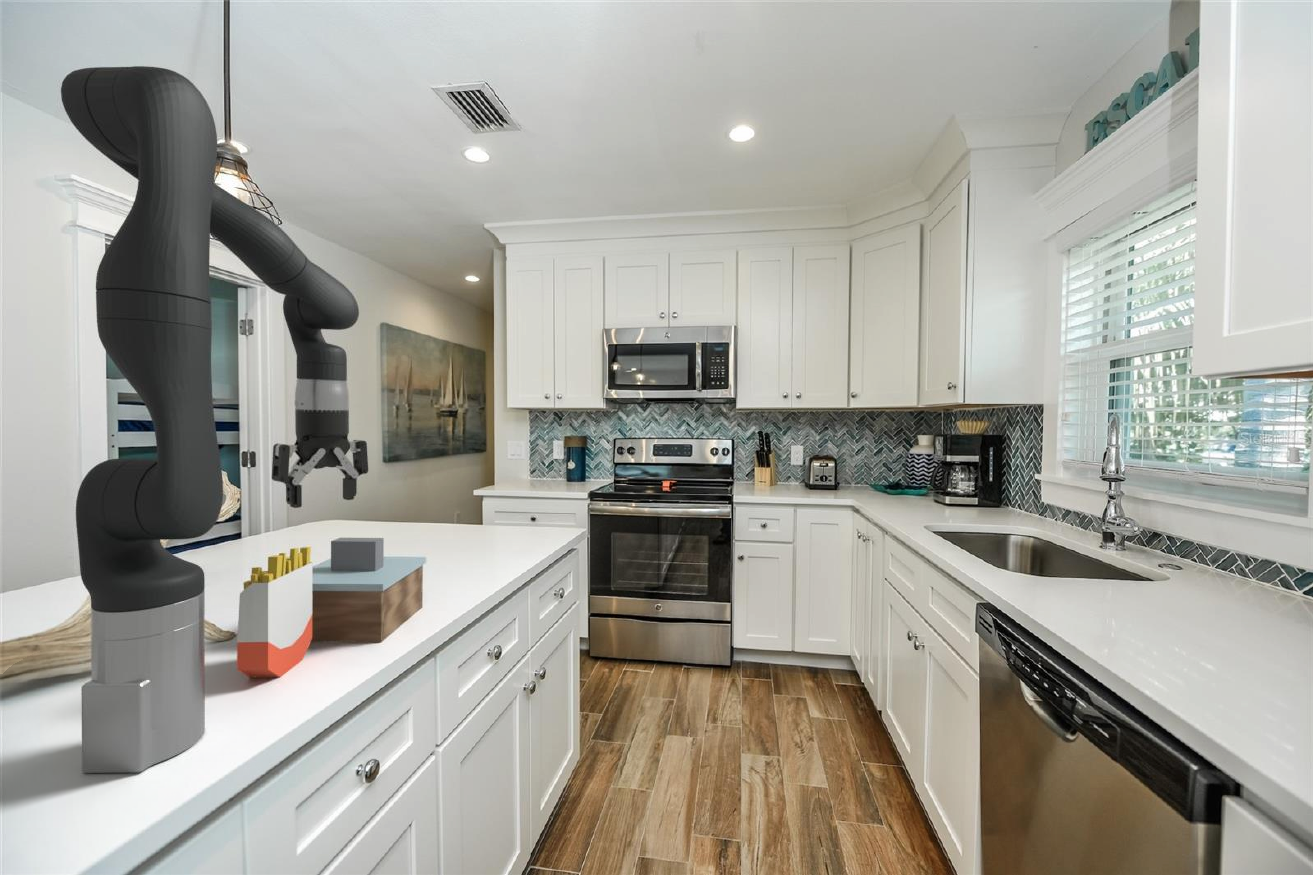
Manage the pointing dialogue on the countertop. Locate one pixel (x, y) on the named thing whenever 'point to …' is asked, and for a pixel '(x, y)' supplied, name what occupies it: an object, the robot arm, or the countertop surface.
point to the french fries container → (275, 616)
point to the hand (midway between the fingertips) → (323, 503)
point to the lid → (361, 566)
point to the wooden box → (365, 611)
